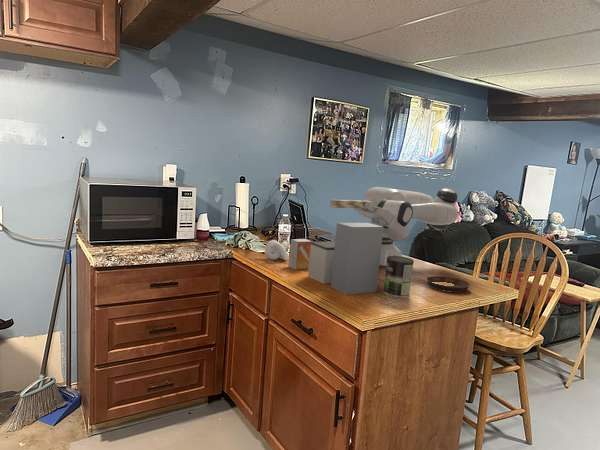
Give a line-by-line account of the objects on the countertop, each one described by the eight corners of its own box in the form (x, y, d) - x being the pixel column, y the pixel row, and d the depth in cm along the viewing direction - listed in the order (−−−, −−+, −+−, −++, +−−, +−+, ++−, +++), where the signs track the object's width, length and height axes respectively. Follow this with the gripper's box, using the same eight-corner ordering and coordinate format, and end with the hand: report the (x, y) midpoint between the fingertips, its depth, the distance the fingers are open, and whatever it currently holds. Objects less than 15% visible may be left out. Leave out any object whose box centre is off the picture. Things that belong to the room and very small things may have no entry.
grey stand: (360, 284, 176) (367, 222, 172) (376, 291, 168) (383, 226, 164) (331, 287, 169) (336, 222, 165) (345, 294, 160) (352, 227, 156)
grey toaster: (342, 273, 192) (345, 240, 190) (358, 280, 182) (361, 246, 179) (308, 275, 183) (311, 241, 181) (323, 283, 173) (326, 247, 170)
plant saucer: (417, 282, 187) (418, 276, 187) (449, 281, 194) (450, 275, 193) (444, 295, 171) (445, 287, 170) (478, 293, 177) (479, 286, 177)
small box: (295, 269, 192) (297, 241, 190) (288, 266, 197) (290, 239, 195) (310, 268, 196) (312, 241, 194) (302, 265, 201) (304, 238, 200)
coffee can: (387, 297, 161) (391, 261, 159) (380, 289, 171) (383, 255, 169) (413, 298, 162) (418, 262, 160) (404, 290, 172) (408, 256, 170)
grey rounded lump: (272, 255, 219) (274, 238, 217) (293, 258, 214) (295, 241, 212) (261, 258, 208) (263, 241, 207) (283, 262, 203) (284, 244, 202)
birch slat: (365, 207, 185) (366, 200, 185) (371, 208, 182) (371, 201, 182) (329, 206, 176) (330, 199, 176) (334, 207, 173) (335, 200, 173)
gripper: (369, 210, 198) (350, 194, 191) (400, 216, 180) (379, 199, 173) (363, 221, 197) (343, 206, 190) (393, 229, 179) (372, 212, 173)
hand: (361, 203), depth 182 cm, fingers closed on birch slat, 3 cm apart
